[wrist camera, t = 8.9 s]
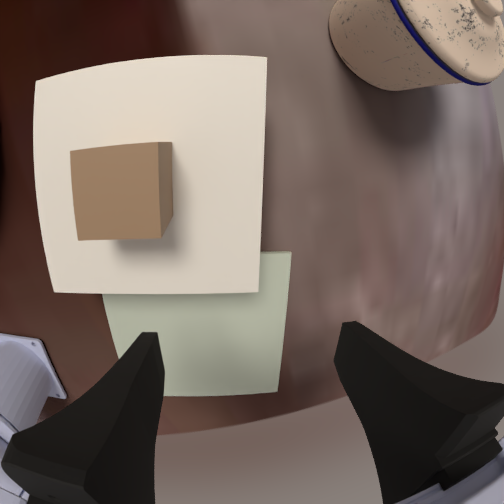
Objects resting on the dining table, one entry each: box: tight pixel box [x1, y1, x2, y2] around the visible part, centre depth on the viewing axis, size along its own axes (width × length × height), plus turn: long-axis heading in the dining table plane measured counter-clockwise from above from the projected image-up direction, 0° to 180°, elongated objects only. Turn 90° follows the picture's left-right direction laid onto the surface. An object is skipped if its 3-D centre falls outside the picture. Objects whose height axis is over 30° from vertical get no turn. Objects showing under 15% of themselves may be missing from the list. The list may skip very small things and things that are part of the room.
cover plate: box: [33, 55, 267, 294], centre depth 12 cm, size 12×12×4 cm
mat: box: [102, 251, 291, 396], centre depth 22 cm, size 14×14×1 cm
